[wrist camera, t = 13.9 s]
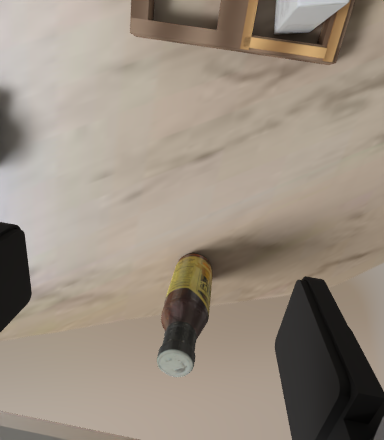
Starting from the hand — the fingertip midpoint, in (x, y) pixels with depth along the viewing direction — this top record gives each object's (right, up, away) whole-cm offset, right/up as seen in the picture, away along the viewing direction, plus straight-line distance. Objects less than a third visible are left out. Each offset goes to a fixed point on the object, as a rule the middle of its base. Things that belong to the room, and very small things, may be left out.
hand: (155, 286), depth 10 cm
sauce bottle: (+2, -5, +39) cm, 40 cm away
